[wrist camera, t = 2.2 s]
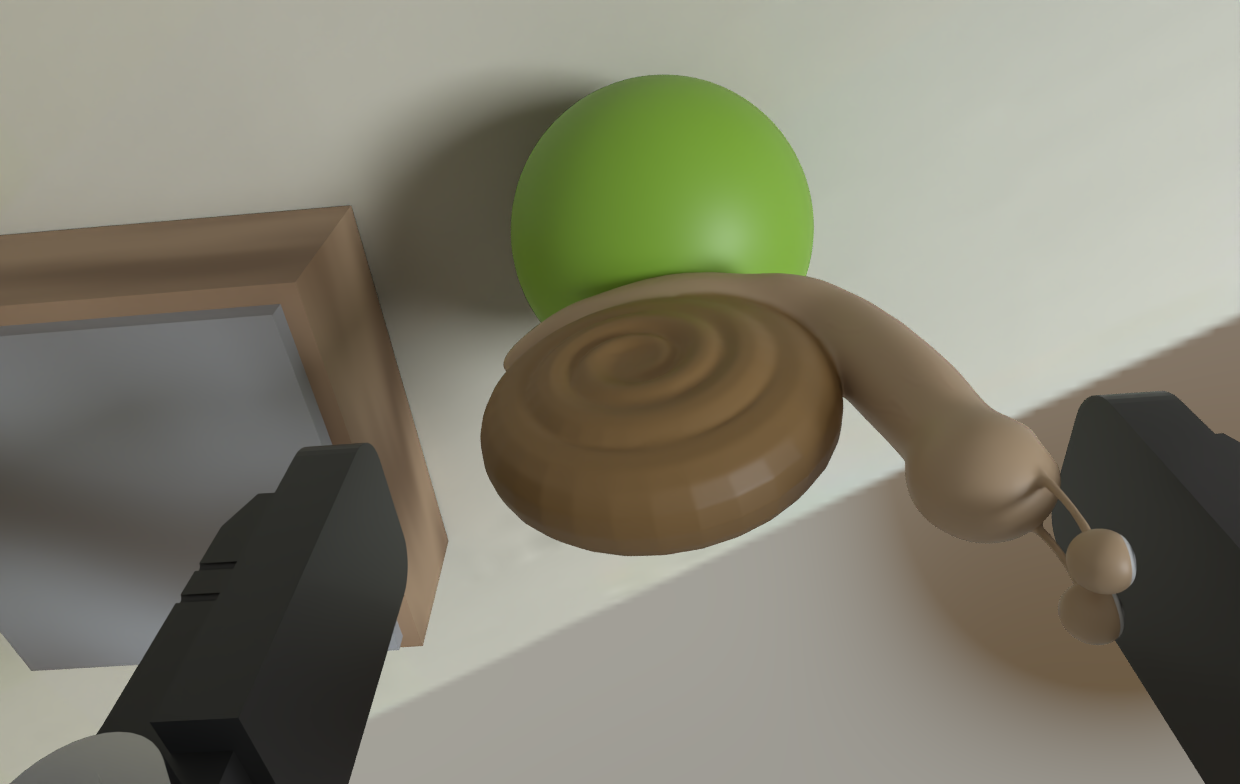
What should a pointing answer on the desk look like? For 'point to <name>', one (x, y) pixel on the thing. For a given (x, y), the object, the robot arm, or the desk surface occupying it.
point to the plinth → (181, 414)
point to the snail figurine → (729, 354)
